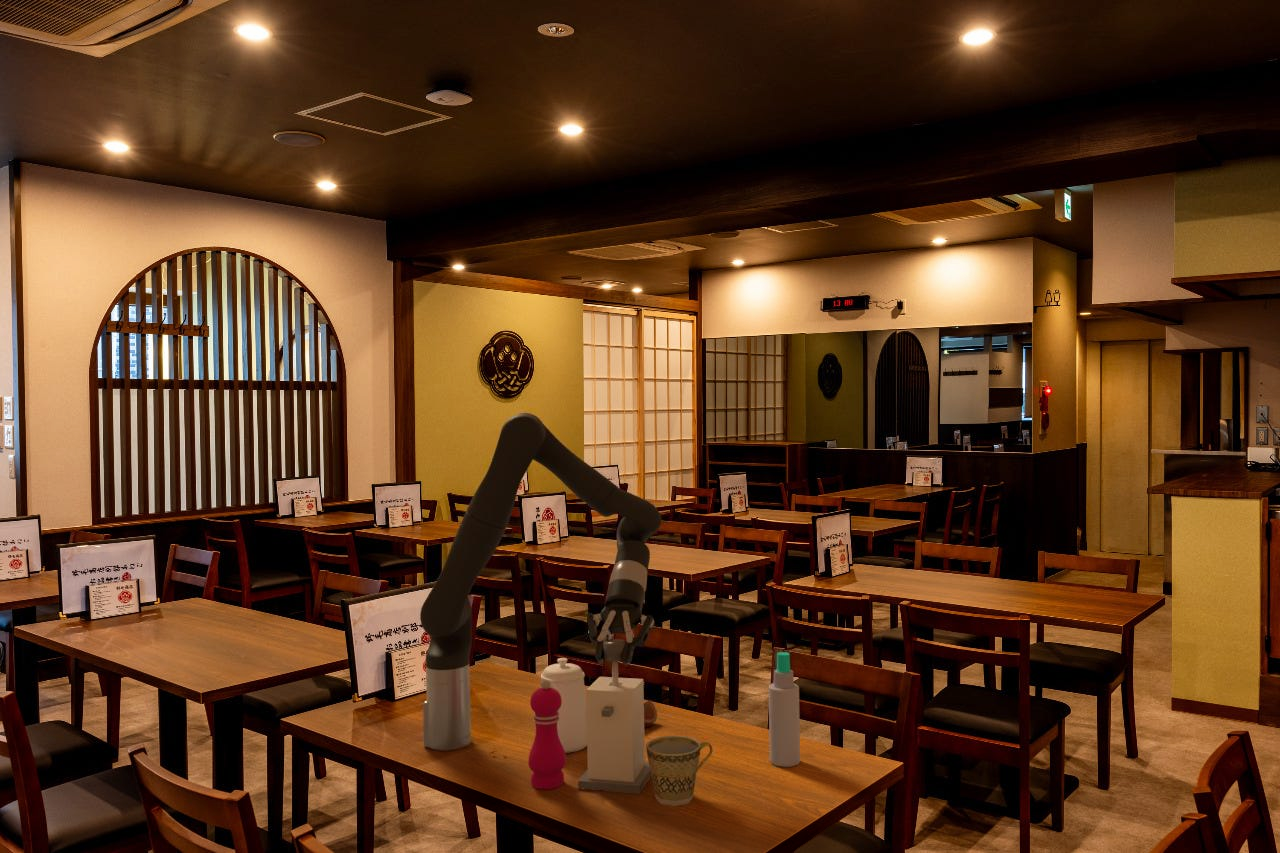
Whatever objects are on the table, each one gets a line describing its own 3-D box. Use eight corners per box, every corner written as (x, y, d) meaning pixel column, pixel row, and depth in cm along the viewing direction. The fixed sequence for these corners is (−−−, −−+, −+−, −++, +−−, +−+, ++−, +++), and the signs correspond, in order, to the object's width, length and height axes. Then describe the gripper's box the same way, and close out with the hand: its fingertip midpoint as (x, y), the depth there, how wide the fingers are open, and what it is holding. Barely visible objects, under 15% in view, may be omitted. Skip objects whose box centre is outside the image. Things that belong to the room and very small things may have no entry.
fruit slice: (642, 734, 209) (642, 711, 209) (617, 729, 213) (617, 707, 213) (662, 723, 216) (662, 701, 216) (637, 718, 220) (637, 697, 220)
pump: (602, 750, 182) (600, 644, 182) (608, 742, 186) (606, 638, 186) (624, 752, 181) (622, 645, 181) (630, 744, 185) (628, 639, 185)
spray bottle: (766, 765, 189) (764, 656, 189) (773, 755, 195) (772, 648, 194) (796, 769, 187) (794, 658, 187) (802, 758, 193) (801, 651, 192)
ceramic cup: (661, 814, 167) (660, 758, 167) (638, 793, 177) (637, 740, 176) (725, 801, 173) (724, 746, 172) (700, 781, 182) (699, 729, 182)
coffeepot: (520, 767, 191) (518, 674, 191) (555, 726, 215) (554, 643, 215) (572, 770, 189) (570, 676, 188) (602, 728, 213) (600, 645, 213)
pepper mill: (551, 793, 177) (549, 687, 177) (521, 786, 181) (518, 682, 181) (573, 780, 183) (571, 677, 183) (544, 773, 187) (542, 673, 187)
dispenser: (576, 790, 178) (574, 693, 178) (596, 765, 191) (594, 674, 191) (638, 795, 175) (636, 696, 175) (654, 769, 188) (652, 677, 188)
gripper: (589, 576, 192) (572, 650, 180) (658, 578, 189) (644, 654, 177) (597, 597, 197) (581, 671, 186) (664, 599, 194) (651, 674, 182)
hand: (612, 662), depth 181 cm, fingers closed on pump, 4 cm apart
